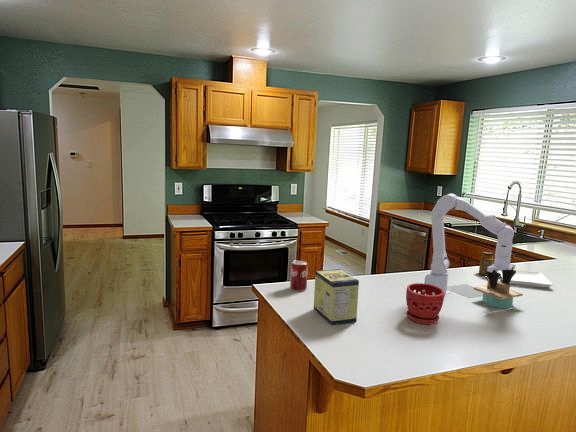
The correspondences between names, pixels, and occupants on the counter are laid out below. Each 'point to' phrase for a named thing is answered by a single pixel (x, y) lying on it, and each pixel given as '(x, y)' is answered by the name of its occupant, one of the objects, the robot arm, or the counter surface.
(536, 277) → the salad plate
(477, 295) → the grey mat
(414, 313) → the plant pot
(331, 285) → the protein box
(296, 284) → the soda can
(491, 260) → the condiment
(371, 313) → the counter surface
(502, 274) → the robot arm
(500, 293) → the oak lid
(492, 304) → the teal bowl
